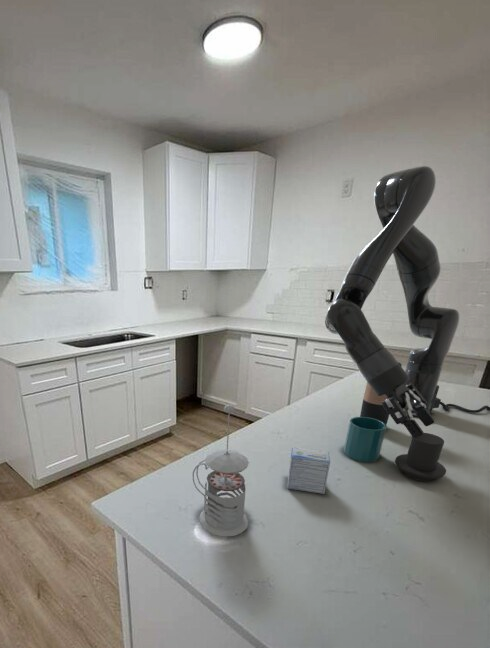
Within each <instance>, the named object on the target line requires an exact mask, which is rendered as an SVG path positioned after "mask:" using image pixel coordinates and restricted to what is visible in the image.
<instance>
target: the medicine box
mask: <svg viewBox="0 0 490 648" xmlns="http://www.w3.org/2000/svg"><path fill="white" fill-rule="evenodd" d="M330 457H331V456H330V452H328V451H323V450H317V449H308V448H302V447H301V448H300V447H291V452H290V459H289V468H288V476H287V485H286V488H287V489H289V490H296V491H303V492H307V493H308V492H309V493H314V494H322V495H325V492H326V487H327V483H328V482H327V481H328V476H329V471H330V466H331V458H330Z"/></svg>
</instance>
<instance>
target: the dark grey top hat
mask: <svg viewBox="0 0 490 648" xmlns="http://www.w3.org/2000/svg"><path fill="white" fill-rule="evenodd" d="M444 444H445V440H444V439H443V438H442V437H440V436H439V435H436V434H434V433H429V432H424V433H423V435H421V436H419V437H416V438H414V437H412V436H411V440H410V443H409V447H408V450H407V453H404V454H399V455H397V456H396V457H395V460H394V463H395V465H396V467H398V468H399V469H400V470H401V471H402V472H403V474H404V475H405V476H406V477H408V478H410V479H413V480H417V481H420V482H421V481H422V482H428V481H431V480H432V479H441V478H444V476H446V474H447V469H446V467H445V466H444V465H443V464H442V463H440V462H439V461H440V456H441V453H442V450H443V447H444Z"/></svg>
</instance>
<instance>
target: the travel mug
mask: <svg viewBox="0 0 490 648" xmlns="http://www.w3.org/2000/svg"><path fill="white" fill-rule="evenodd" d="M397 362H398V363H399V364H400V366H401V367H402V366H403V364H402V362H399V361H397ZM386 399H388V398H387V397H386V395H385V394H384V395H382V396H378V395H377V394H376V393H375V392H374V390H373V389H372V387H371V386H370V385H369V383H368V382H367V381H366V384H365V389H364V393H363V398H362V403H361V410H360V416H359V417H369V418H373V419H377V420H379V421H382V422H383V423H385V424H386V426H387V424H388V421H389V417H390V414H389V413H388V411H387V410H386V408H385V407H384V405H383V404H382V402H383V401H385V400H386Z"/></svg>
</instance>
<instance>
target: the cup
mask: <svg viewBox="0 0 490 648" xmlns="http://www.w3.org/2000/svg"><path fill="white" fill-rule="evenodd" d="M387 427H388V426H387V425H386V424H385V423H383V422H382V421H379V420H377V419H373V418H369V417H360V416H354V417H352V418H350V419H349V422H348V427H347V432H346V436H345V442H344V446H343V453H344V455H345V456H346V457H348V458H350V460H351V459H352V460H354V461H357V462H362V463H373V462H377V461H378V460H379V458H380V454H381V451H382V446H383V443H384V439H385V435H386V431H387Z"/></svg>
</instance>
